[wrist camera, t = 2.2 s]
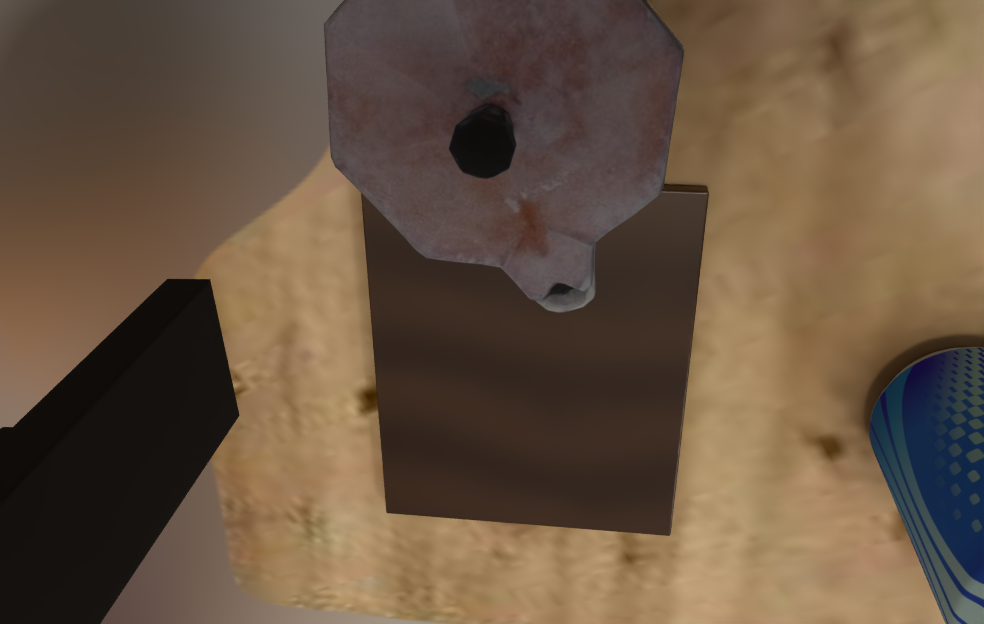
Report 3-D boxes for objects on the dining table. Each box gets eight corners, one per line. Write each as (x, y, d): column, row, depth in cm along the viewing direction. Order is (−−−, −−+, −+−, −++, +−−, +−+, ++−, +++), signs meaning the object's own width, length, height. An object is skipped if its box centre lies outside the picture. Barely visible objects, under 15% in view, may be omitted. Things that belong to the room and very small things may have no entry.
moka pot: (503, 177, 41) (417, 423, 24) (351, -166, 36) (88, -176, 18) (704, 102, 39) (772, 316, 21) (574, -285, 33) (520, -433, 15)
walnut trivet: (363, 173, 42) (359, 179, 42) (707, 185, 40) (709, 192, 40) (389, 504, 52) (386, 513, 51) (669, 526, 50) (670, 536, 49)
